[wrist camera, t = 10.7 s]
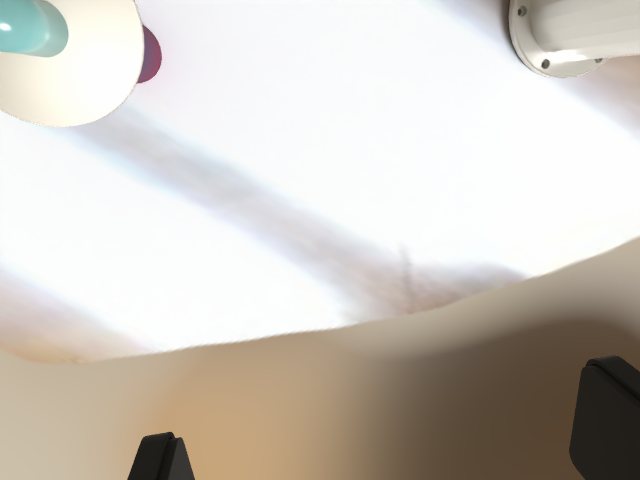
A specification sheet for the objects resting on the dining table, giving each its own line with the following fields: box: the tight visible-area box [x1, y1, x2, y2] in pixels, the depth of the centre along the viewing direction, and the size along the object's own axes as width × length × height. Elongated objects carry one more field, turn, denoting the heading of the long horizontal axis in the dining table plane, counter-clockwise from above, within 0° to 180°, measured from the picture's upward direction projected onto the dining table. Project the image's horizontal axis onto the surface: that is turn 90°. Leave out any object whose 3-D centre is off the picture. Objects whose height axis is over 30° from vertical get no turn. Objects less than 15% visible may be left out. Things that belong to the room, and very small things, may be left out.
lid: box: [0, 0, 144, 127], centre depth 19 cm, size 10×10×6 cm
